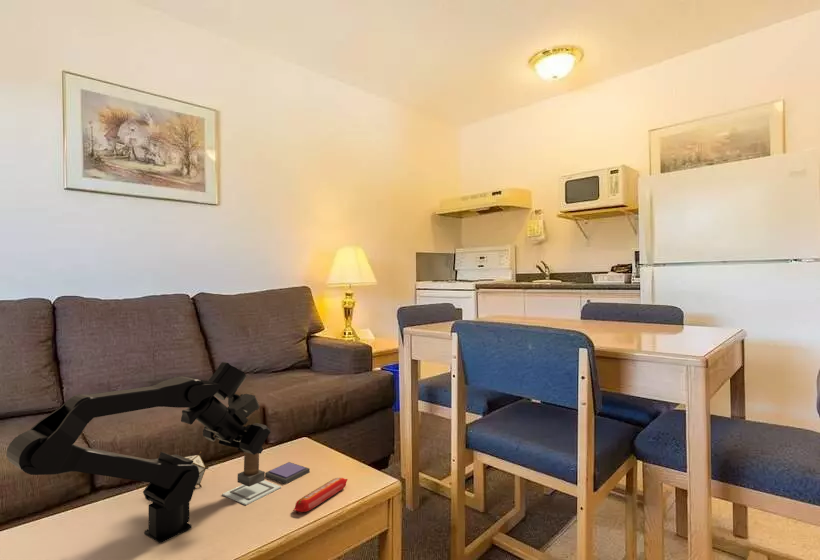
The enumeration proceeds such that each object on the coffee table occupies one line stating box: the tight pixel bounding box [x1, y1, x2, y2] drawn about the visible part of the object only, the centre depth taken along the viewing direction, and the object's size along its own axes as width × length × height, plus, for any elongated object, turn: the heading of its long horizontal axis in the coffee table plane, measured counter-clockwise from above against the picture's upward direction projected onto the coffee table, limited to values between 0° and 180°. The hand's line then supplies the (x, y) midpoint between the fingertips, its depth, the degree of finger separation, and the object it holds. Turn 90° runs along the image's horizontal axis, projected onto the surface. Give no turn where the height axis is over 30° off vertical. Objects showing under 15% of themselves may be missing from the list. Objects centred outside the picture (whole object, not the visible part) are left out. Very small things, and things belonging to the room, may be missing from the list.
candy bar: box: [292, 477, 348, 513], centre depth 100 cm, size 16×4×3 cm, turn 150°
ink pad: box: [265, 461, 311, 485], centre depth 113 cm, size 8×8×1 cm
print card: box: [222, 480, 282, 506], centre depth 104 cm, size 10×9×1 cm
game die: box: [184, 451, 210, 488], centre depth 106 cm, size 9×8×10 cm
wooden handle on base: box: [237, 430, 266, 487], centre depth 104 cm, size 4×4×13 cm
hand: (256, 449), depth 105 cm, fingers closed on wooden handle on base, 3 cm apart
